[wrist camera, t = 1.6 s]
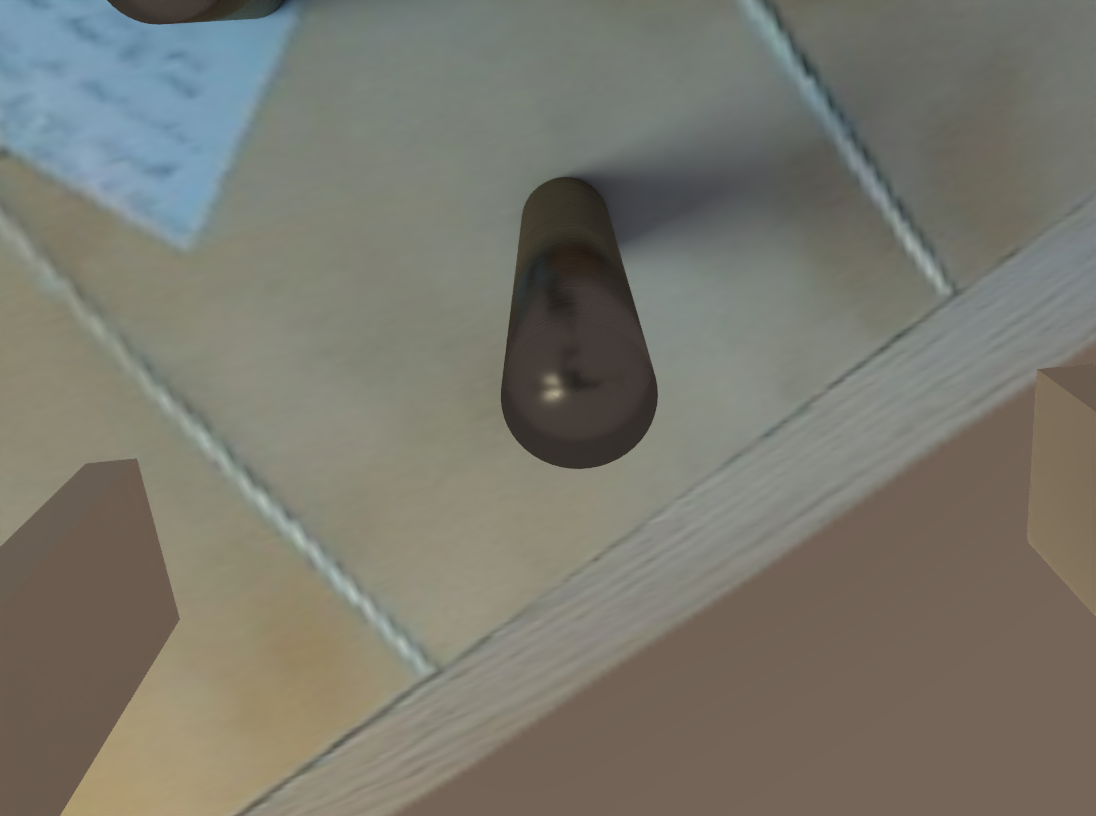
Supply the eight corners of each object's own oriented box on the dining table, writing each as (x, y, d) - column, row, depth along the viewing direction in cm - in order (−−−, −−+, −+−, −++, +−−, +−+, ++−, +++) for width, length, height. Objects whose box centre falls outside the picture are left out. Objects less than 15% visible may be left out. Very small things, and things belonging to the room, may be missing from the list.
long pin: (533, 168, 33) (521, 305, 18) (618, 189, 33) (677, 342, 18) (512, 253, 34) (485, 450, 19) (596, 273, 34) (633, 483, 19)
